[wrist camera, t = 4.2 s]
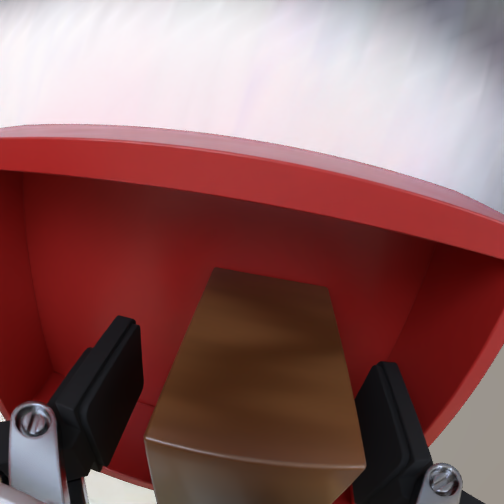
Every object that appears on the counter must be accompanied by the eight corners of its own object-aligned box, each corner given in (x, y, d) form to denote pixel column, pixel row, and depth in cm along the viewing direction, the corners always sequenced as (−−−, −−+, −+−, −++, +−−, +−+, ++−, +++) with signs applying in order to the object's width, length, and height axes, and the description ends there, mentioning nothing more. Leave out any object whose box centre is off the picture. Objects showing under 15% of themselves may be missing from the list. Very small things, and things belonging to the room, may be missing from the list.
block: (328, 286, 11) (369, 467, 4) (294, 385, 13) (295, 537, 6) (214, 265, 11) (141, 438, 4) (202, 369, 13) (159, 517, 6)
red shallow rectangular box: (457, 191, 10) (550, 241, 5) (348, 432, 15) (359, 512, 10) (25, 124, 10) (-71, 142, 5) (53, 367, 15) (9, 427, 10)
